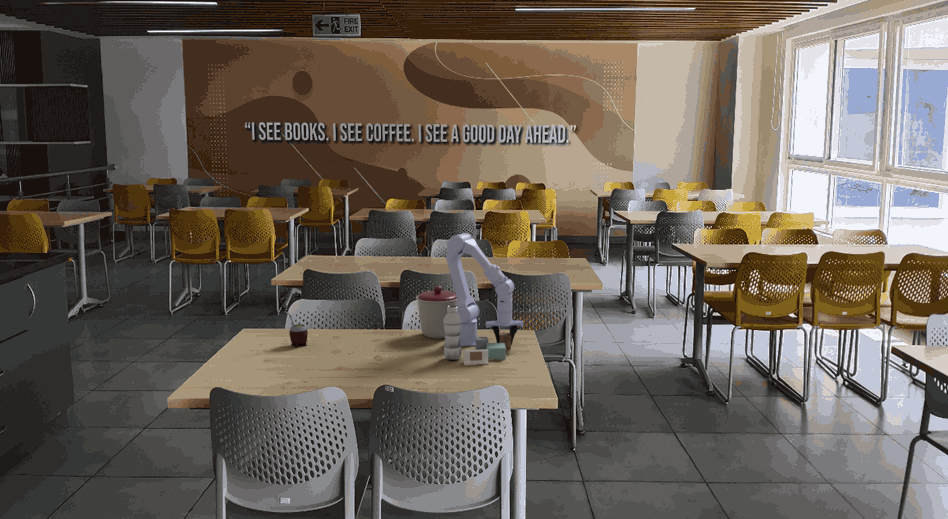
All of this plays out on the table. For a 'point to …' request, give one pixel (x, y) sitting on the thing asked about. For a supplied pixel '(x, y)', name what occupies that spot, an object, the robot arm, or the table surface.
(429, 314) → the canister
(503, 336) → the walnut block
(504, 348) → the base block
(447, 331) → the plastic bottle
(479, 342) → the grey block
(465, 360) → the card
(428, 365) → the table surface
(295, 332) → the mate gourd
